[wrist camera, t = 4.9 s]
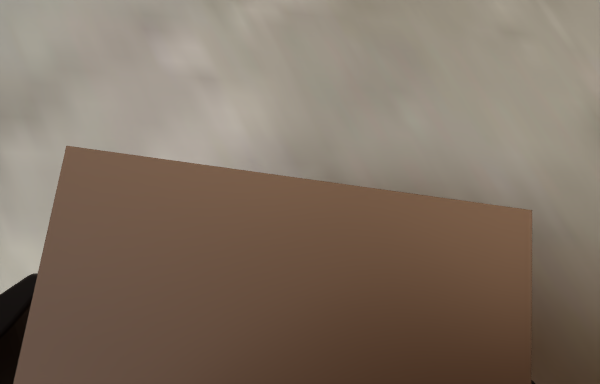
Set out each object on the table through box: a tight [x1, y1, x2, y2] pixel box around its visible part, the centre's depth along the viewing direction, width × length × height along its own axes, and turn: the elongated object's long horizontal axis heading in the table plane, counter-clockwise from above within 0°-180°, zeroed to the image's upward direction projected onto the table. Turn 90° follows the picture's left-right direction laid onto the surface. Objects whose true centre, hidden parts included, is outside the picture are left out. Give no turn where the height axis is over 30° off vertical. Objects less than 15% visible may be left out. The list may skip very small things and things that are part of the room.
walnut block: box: [13, 146, 532, 384], centre depth 10 cm, size 5×5×13 cm
